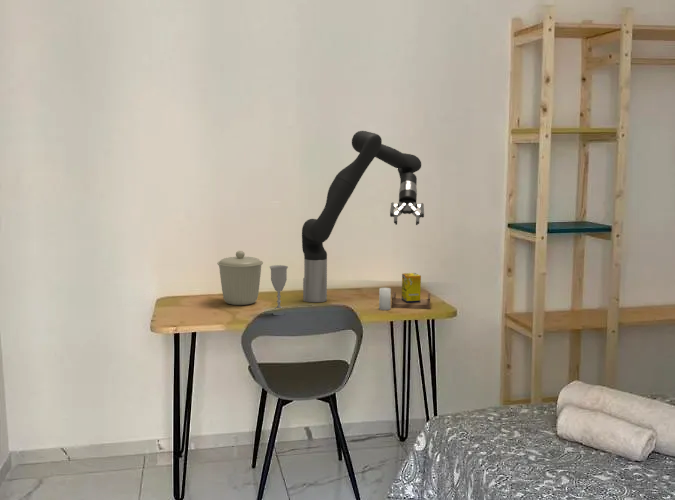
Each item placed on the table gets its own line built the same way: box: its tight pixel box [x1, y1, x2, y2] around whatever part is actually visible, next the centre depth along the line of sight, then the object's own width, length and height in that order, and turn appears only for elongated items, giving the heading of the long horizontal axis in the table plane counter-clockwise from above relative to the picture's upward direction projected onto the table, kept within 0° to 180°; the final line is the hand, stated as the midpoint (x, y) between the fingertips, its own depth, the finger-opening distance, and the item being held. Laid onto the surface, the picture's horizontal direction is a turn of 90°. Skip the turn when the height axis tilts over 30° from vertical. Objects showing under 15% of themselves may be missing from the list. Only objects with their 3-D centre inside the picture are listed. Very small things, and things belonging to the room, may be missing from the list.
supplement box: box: [401, 272, 422, 303], centre depth 302 cm, size 6×6×11 cm
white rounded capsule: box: [378, 287, 392, 311], centre depth 295 cm, size 4×4×8 cm
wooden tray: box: [391, 291, 431, 310], centre depth 302 cm, size 15×11×4 cm
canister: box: [217, 250, 264, 306], centre depth 303 cm, size 18×18×21 cm
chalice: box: [269, 264, 289, 309], centre depth 285 cm, size 7×7×18 cm
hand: (406, 223), depth 316 cm, fingers open, 8 cm apart
